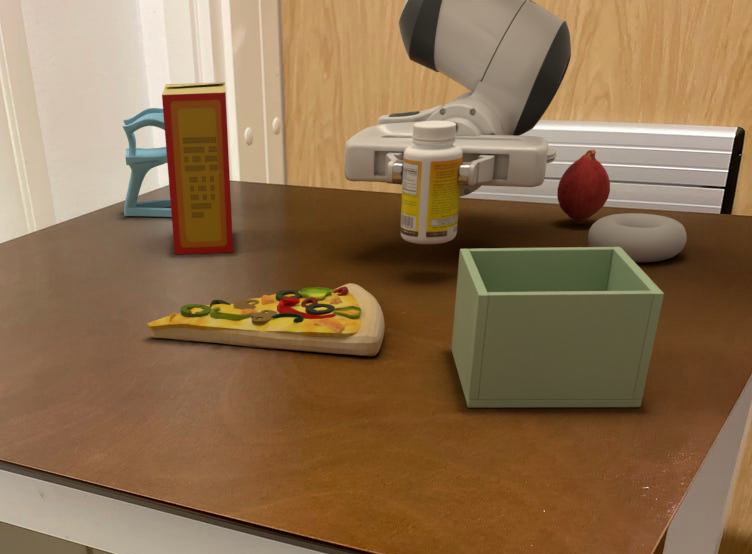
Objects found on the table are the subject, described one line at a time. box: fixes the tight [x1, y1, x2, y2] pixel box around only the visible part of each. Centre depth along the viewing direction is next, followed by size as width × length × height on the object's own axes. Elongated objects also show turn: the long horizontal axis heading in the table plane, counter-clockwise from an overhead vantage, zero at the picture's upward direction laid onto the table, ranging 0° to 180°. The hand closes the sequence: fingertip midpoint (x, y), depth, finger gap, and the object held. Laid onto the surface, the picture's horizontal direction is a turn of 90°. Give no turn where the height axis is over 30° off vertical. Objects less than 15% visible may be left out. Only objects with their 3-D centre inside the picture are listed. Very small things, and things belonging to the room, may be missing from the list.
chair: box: [122, 107, 172, 218], centre depth 122 cm, size 8×8×12 cm
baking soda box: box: [161, 81, 234, 255], centre depth 107 cm, size 10×6×16 cm
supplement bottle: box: [400, 121, 463, 245], centre depth 93 cm, size 6×6×10 cm
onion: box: [556, 148, 611, 225], centre depth 113 cm, size 6×6×8 cm
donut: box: [587, 212, 688, 263], centre depth 103 cm, size 10×3×10 cm
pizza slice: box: [146, 282, 386, 357], centre depth 85 cm, size 16×21×3 cm
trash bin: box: [451, 246, 665, 409], centre depth 73 cm, size 12×12×8 cm
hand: (429, 174), depth 92 cm, fingers closed on supplement bottle, 5 cm apart
